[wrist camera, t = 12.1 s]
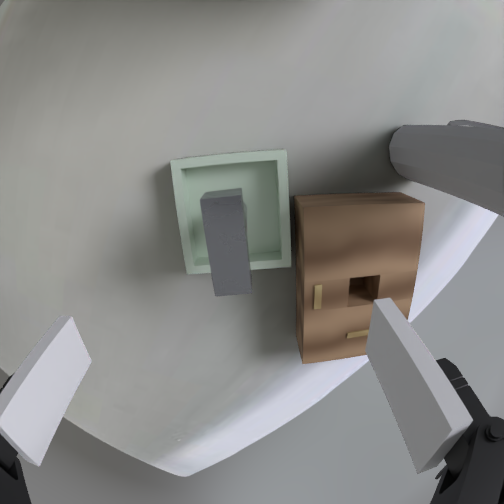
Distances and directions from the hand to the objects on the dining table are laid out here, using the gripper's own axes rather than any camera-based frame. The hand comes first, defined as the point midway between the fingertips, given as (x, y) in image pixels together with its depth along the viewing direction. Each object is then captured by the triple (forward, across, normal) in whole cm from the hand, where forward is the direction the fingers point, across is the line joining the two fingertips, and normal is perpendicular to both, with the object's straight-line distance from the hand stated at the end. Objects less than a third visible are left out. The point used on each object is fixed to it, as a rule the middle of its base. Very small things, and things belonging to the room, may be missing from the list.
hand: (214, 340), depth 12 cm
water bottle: (+24, +23, +6) cm, 34 cm away
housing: (+24, +14, -10) cm, 29 cm away
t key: (+24, 0, -1) cm, 24 cm away
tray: (+24, 0, 0) cm, 24 cm away
